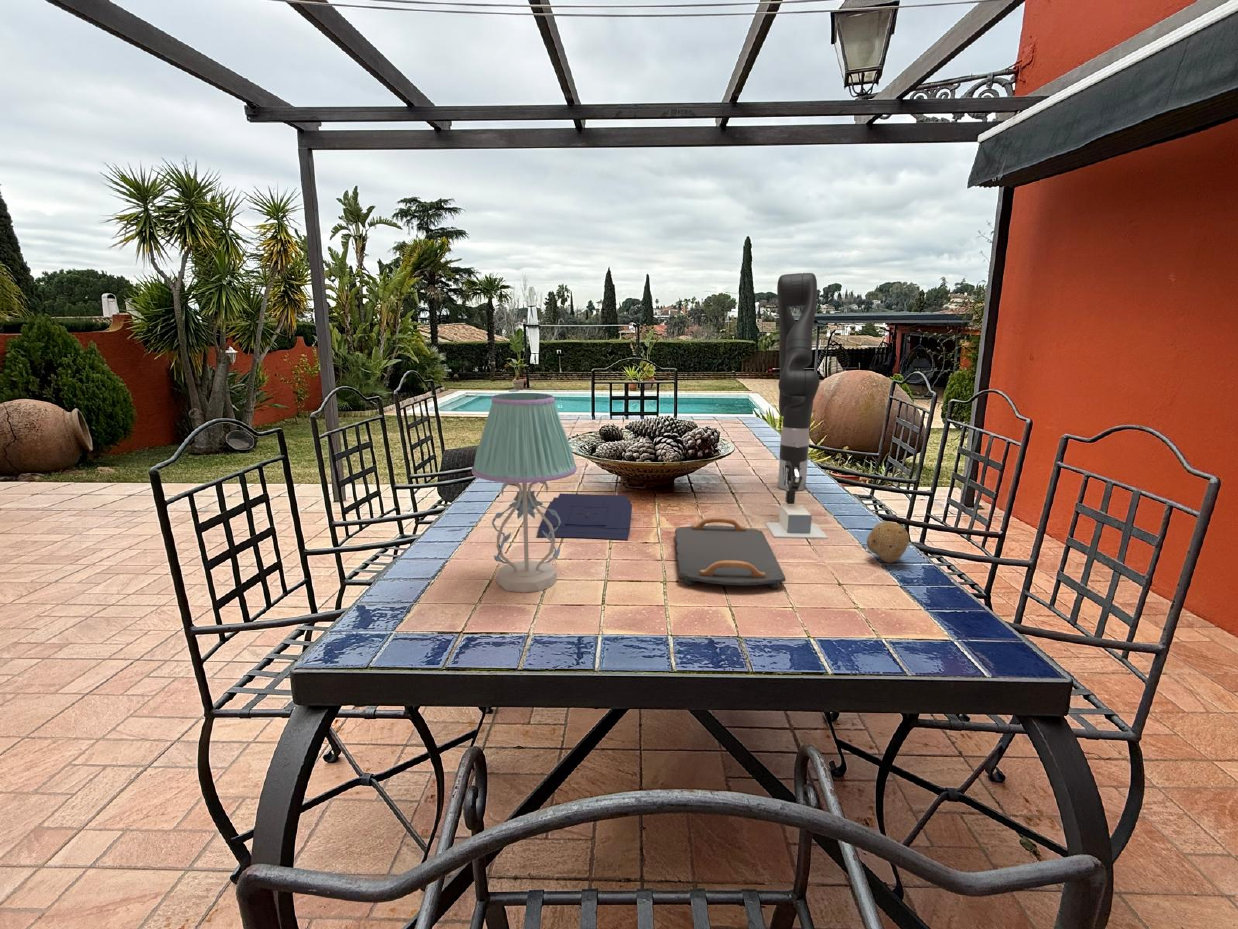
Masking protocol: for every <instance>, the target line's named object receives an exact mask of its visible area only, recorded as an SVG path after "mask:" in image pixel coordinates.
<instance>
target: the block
mask: <svg viewBox="0 0 1238 929" xmlns="http://www.w3.org/2000/svg"><path fill="white" fill-rule="evenodd" d="M779 506H780V507H779V516H778V517H779V518H778V522H780V524H781V525H782V526H783V528H784V529H785V530H786V532H787V533H810V530H811V523H812V516H813V515H812V514H811V513H810V512H809V511H808V510H807V508H805V507H804V505H803V504H779Z"/></svg>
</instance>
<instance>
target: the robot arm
mask: <svg viewBox="0 0 1238 929" xmlns="http://www.w3.org/2000/svg"><path fill="white" fill-rule="evenodd" d="M776 288H777V290H776V292H777V293H776V294H777V295H776V296H777V307H778V308H777V309H778V319H779V321H778V322H779V323H778V324H779V333H778V334H779V336H778V338H779V339H778V341H779V342H778V353H779V354H778V356H779V358H778V360H779V380H778V390H779V394H778V411H779V415H780V416H781V417H782V428H781V433H780V442H779V443H780V444H779V445H780V446H779V462H778V464H779V466H778V478H777V479H778V480H777V487H778V488H779V489H781V490H786V491H785V503H786V505H795V501H796V492H797V491H804V490H806V485H807V475H808V474H807V473H808V461H809V460H808V459H809V446H810V435H811V434H810V433H811V424H812V423H811V422H812V413H813V406H814V400H815V398H816V395H817V393H818V389H819V388H820V387H819V386H820V376H819V374H818V373H817V372H816V371H814V370H805V369H806V368H808V367H809V366H810V365H811V364H812V361H813V332H814V331H813V329H814V323H815V315H816V306H817V297H818V282H817V278H816V275H815V274H814V273H812V272H801V273H800V272H799V273H788V274H782V275H780V276H779V278H778V279H777V286H776ZM790 307H804V308H803V311H802V313H801V314H800V316H799V317H798V318H797V321H796V319H795V318H794V316H793V313H792V311H791V308H790Z"/></svg>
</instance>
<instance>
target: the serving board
mask: <svg viewBox="0 0 1238 929" xmlns="http://www.w3.org/2000/svg"><path fill="white" fill-rule="evenodd" d="M711 523H713V524H714V523H721V524H722V523H724V524H729V525H715V524H714V525H713V524H712V525H711ZM708 524H710V525H708ZM730 525H732V526H730ZM674 535H675V540H674V542H675V543H676V546H675V552H676V559H675V560H676V562H677V568H678V569H677V571H678V577H679V578H680V579H684V585H685V586H686V587H694V586H695V582H700V583H706V584H712V585H713V584H714V585H723V586H724V585H725V586H761V585H768V587H769V589H770V590H779V589H780V583H783V582H786V575H785V574H784V572H783V569H782V568H781V566H780V563H779V561H778V560H777V558H776V556H775V554H774V551H773V549H772V548H771V545H770V544H769V541H768V539H767V538H766V535H765V534H764V531H762V530H759V529H756V528H748V527H746V526H742V525H740V524H739V523H738V522H737V521H736V520H734V519H733V518H729V517H723V516H722V517H721V516H716V517H715V516H712V517H707V518H704V519H702V520H701V521H699V522H698V523H697V524H692V525H691V526H688V525H687V526H680V527H676V528H675V530H674Z"/></svg>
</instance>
